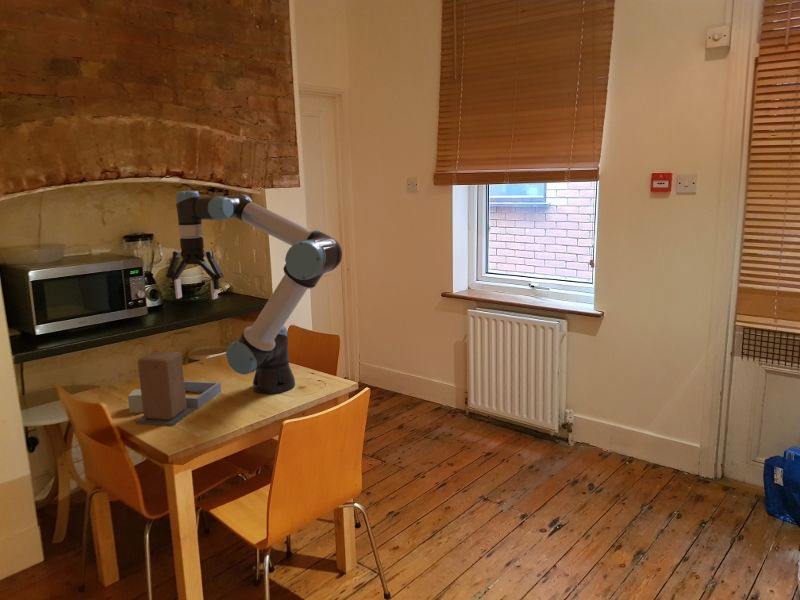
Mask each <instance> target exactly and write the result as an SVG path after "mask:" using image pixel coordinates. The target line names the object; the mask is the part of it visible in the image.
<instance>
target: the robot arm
mask: <svg viewBox="0 0 800 600" xmlns="http://www.w3.org/2000/svg"><path fill="white" fill-rule="evenodd" d="M175 201H176V202H175V206H176V214H177V221H178V223H177V224H178V234H179V237H180V239H179V244H180V245H179V247H180V249H181V250H174V251H172V258H171V261H170V264H169V267H168V270H167V272H166V275H165V277H166V278H167V279H171V281H172V288H173V289H174V293H175V299H182V298H183V292H182V282H181V281H182V280H181V278H180V276H181V275H182V273H183V272H184V270H185V268H186V267H187V266H188V265H194V266H195V265H198V266H200V267H201V268H202V269H203V271H205V272H206V274H207V275H208V276H209V277H210V278H211V280H210V282H209V283H210V291H211V299H212V300H215V299H219V295H218V290H219V289H220V283H219V282H220V281H219V280H220V279H222V278H224V276H225V275H224V273H223V272H222V270H221V268H220V266H219V264H218V262H217V260H216V258H215V257H214V252H213V250H208V251H204V248H205V247H204V246H205V245H204V238H203V225H202V221H203V220H213V221H214V220H215V221H223V220H229V219H231V218H235V219H237V220H239V221H241V222H244V223H245V224H248V225H249V226H252V227H254V228H256V229H257V230H260V231H261V232H263V233H265V234H268V235H269V236H272V237H273V238H276V239H278V240H280V241H282V242H284V243H285V244H288V245H290V248H288V250H287V252H286V254H285V259H284V262H285V264H284V266H283V273H284V275H283V276H282V278H281V279H280V281H279V283H278V284H277V286H276V287H275V289H274V291H273V293H272V294H271V296H270V297H269V299H268V300H267V302H266V303H265V305H264V307H263V309H262V310H261V311H260V313H259V314H258V316H257V318H256V320H255V321H254V323H253V324H252V325H251V326H247V327H245V328H244V330H243V331H242V333H241V335H240V336H239V338H238V339H237V340H235V341H233V342H231V343H230V344H229V345H227V348H226V352H225V356H226V357H225V358H226V359H227V363H228V365H229V367H230V369H232V370H233V371H235V372H236V373H237V374H240V375H248V374H251V373H254V372H255V373H254V377H253V381H252V390H253V391H255V392H258V393H261V394H279V393H284V392H287V391H290V390H292V389H294V387H295V386H296V379H295V376H294V373H293V372H292V369H291V366H290V359H289V342H288V341H289V340H288V337H289V336H288V330H287V327H286V326H284V325H285V324H286V323H287V321H288V319H289V318H290V316H292V314H293V312H294V310H295V309H296V308H297V306H298V304H299V303H300V302H301V300H302V298H303V297H304V295H305V294H306V292H307V290H308V289H310V290H311V289H314V288H315V287H316V286H317V284H319V283H318V282H319V281H320V279H321V278H322V276H323V275H324V274H327V273H329V272H332V271H333V270H335V269H337V267H338V266H339V265H340V263H341V262H342V260H343V250H342V247H341V245H340V243H339V242H338V241H337V240H336V239H335V238H333V237H332V236H330V235H328V234H326V233H323V232H322V231H320V230H318V229H313V230H311V229H308V228H306V227H305V226H303V225H300V224H298V223H297V222H295V221H292V220H290V219H289V218H287V217H284V216H282V215H280V214H278V213H275V212H274V211H272V210H269V209H267V208H265V207H263V206H261V205H260V204H257V203H255V202H253V200H252V199H251V197H250V196H248V195H246V194H239V193H238V194H233V195H220V196H219V195H218V196H217V195H216V196H200V193H199V191H198V190H182V191H177V192H176V194H175ZM180 258H182V260H181V261H180ZM205 258H206V259H207V260H206V259H205ZM179 261H180V264H179ZM207 261H208V263H207ZM178 264H179V265H178Z"/></svg>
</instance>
